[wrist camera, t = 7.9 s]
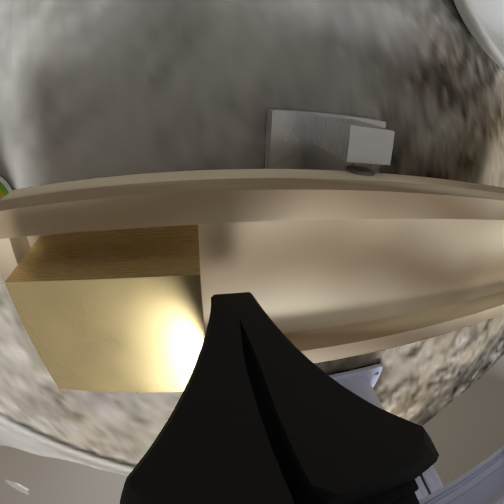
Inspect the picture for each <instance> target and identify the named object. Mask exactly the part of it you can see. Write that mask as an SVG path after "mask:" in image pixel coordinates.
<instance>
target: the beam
mask: <svg viewBox="0 0 504 504" xmlns="http://www.w3.org/2000/svg"><path fill="white" fill-rule="evenodd" d="M187 225H198V232H199V251H200V268H201V284H202V298H203V311H204V323H205V334H206V330H207V326H208V322H209V317H210V311H211V297H212V296H213V295H215V294H229V293H242V292H250V293H251V294H252V295H253V296H254V297H255V299H256V300H257V302H258V303H259V304H260V306H261V307H262V309H263V310H264V311H265V312H266V314H267V315H268V316H269V317H270V319H271V320H272V321H273V322H274V324H275V325H276V326H277V327H278V328H279V329H280V330H281V331H282V333H283V334H284V335H285V336H286V337H287V338H288V339H289V340H290V341H291V342H292V343H293V344H294V345H295V346H296V347H297V348H298V349H299V350H300V351H301V352H302V353H303V354H304V355H305V356H306V357H307V358H308V359H309V360H310V361H312V362H313V363H319V362H325V361H331V360H337V359H342V358H347V357H352V356H357V355H362V354H367V353H371V352H376V351H380V350H385V349H389V348H393V347H397V346H402V345H405V344H409V343H413V342H417V341H421V340H424V339H428V338H432V337H435V336H439V335H442V334H445V333H449V332H452V331H455V330H459V329H462V328H465V327H468V326H471V325H474V324H477V323H480V322H483V321H486V320H489V319H491V318H494V317H497V316H500V315H502V314H504V188H501V187H495V186H489V185H483V184H476V183H469V182H462V181H454V180H447V179H438V178H429V177H420V176H410V175H399V174H387V173H375V171H374V170H372V169H369V168H366V167H362V166H355V165H349V166H346V171H338V170H310V169H222V170H194V171H175V172H159V173H145V174H133V175H121V176H111V177H102V178H92V179H84V180H76V181H68V182H61V183H54V184H47V185H40V186H34V187H28V188H22V189H16V190H13V191H11V192H10V193H9V194H7V195H6V196H5V197H3V198H2V199H1V200H0V271H1V274H2V277H3V279H4V282H5V281H6V280H7V278H8V277H9V276H10V274H11V273H12V271H13V270H14V269H15V267H16V266H17V265H18V263H19V262H20V261H21V260H22V258H23V257H24V256H25V254H26V253H27V252H28V251H29V249H30V248H31V247H32V246H33V244H34V243H35V242H36V241H37V240H38V238H39V237H40V236H44V235H55V234H67V233H79V232H92V231H106V230H120V229H135V228H151V227H168V226H187ZM10 297H11V296H10Z"/></svg>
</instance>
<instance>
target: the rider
mask: <svg viewBox="0 0 504 504" xmlns="http://www.w3.org/2000/svg"><path fill="white" fill-rule="evenodd" d="M5 284H6V287H7V289H8V292H9V294H10V296H11V299H12V301H13V303H14V306H15V308H16V310H17V312H18V315H19V317H20V319H21V321H22V323H23V325H24V327H25V329H26V331H27V333H28V335H29V337H30V339H31V341H32V343H33V345H34V347H35V349H36V350H37V352H38V354H39V356H40V358H41V359H42V361H43V363H44V365H45V366H46V368H47V370H48V371H49V373H50V375H51V376H52V378H53V380H54V381H55V383H56V384H57V386H58V388H59V389H70V390H84V391H102V392H184V389H185V387H186V385H187V383H188V381H189V379H190V376H191V374H192V372H193V369H194V367H195V364H196V361H197V359H198V356H199V353H200V350H201V347H202V344H203V341H204V338H205V323H204V311H203V298H202V284H201V268H200V251H199V232H198V225H187V226H168V227H151V228H135V229H120V230H106V231H92V232H79V233H67V234H55V235H44V236H40V237H39V238H38V240H37V241H36V242H35V243H34V244H33V246H32V247H31V248H30V249H29V251H28V252H27V253H26V254H25V256H24V257H23V258H22V260H21V261H20V262H19V263H18V265H17V266H16V267H15V269H14V270H13V271H12V273H11V274H10V276H9V277H8V278H7V280H6V281H5Z"/></svg>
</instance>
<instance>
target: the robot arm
mask: <svg viewBox="0 0 504 504" xmlns="http://www.w3.org/2000/svg"><path fill="white" fill-rule="evenodd" d="M382 369H383V367H382V365H381V364H376V365H372V366H368V367H364V368H360V369H355V370H351V371H347V372H342V373H337V374H332V375H327V374H326V373H325V372H324V371H322V370H321V369H320V368H319V367H317V366H316V365H315V364H314V363H313V362H312V361H310V360H309V359H308V358H307V357H306V356H305V355H304V354H303V353H302V352H301V351H300V350H299V349H298V348H297V347H296V346H295V345H294V344H293V343H292V342H291V341H290V340H289V339H288V338H287V337H286V336H285V335H284V334H283V333H282V331H281V330H280V329H279V328H278V327H277V326H276V325H275V324H274V322H273V321H272V320H271V319H270V317H269V316H268V315H267V314H266V312H265V311H264V310H263V309H262V307H261V306H260V304H259V303H258V302H257V300H256V299H255V297H254V296H253V295H252V294H251V293H250V292H242V293H229V294H215V295H213V296H212V297H211V311H210V317H209V322H208V326H207V330H206V334H205V338H204V341H203V344H202V347H201V350H200V353H199V356H198V359H197V361H196V364H195V367H194V369H193V372H192V374H191V376H190V379H189V381H188V383H187V385H186V387H185V389H184V392H183V394H182V395H181V397H180V399H179V401H178V403H177V405H176V407H175V409H174V411H173V412H172V414H171V416H170V418H169V419H168V421H167V423H166V424H165V426H164V427H163V429H162V430H161V432H160V433H159V435H158V436H157V438H156V440H155V441H154V443H153V444H152V446H151V447H150V448H149V450H148V451H147V453H146V454H145V455H144V456H143V458H142V459H141V460H140V462H139V463H138V464H137V465H136V467H135V468H134V469H133V471H132V472H131V473H130V474H129V476H128V477H127V479H126V482H125V485H124V488H123V491H122V495H121V499H120V504H504V446H503V447H501V448H500V449H499V450H498V451H496V452H495V453H494V454H492V455H491V456H490V457H488V458H487V459H486V460H484V461H483V462H481V463H480V464H479V465H477V466H476V467H474V468H473V469H471V470H470V471H468V472H467V473H465V474H464V475H462V476H460V477H459V478H457V479H456V480H454V481H452V482H451V483H449V484H447V485H446V486H444V487H443V485H442V483H441V480H440V478H439V476H438V474H437V472H436V470H435V469H434V467H433V464H434V463H435V462H436V461H437V459H438V456H439V454H438V452H437V450H436V448H435V446H434V444H433V442H432V440H431V439H430V437H429V435H428V434H427V432H426V431H425V429H424V428H423V427H422V426H420V425H417V424H415V423H412V422H410V421H408V420H405V419H403V418H400V417H398V416H396V415H393V414H391V413H389V412H387V411H385V410H384V409H383V407H382V405H381V403H380V401H379V399H378V397H377V395H376V394H375V392H374V390H373V387H374V385H375V383H376V381H377V379H378V377H379V375H380V373H381V371H382Z"/></svg>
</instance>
